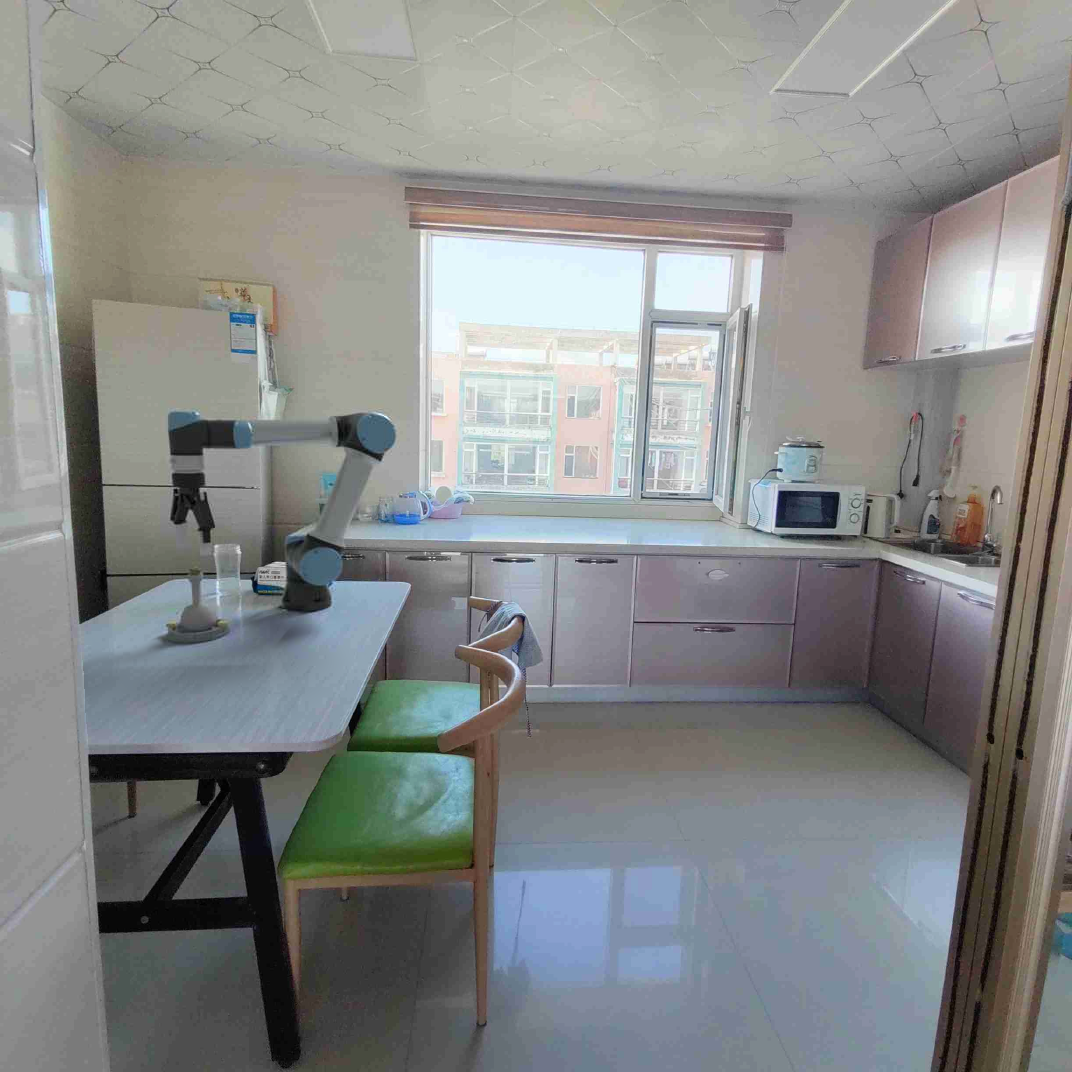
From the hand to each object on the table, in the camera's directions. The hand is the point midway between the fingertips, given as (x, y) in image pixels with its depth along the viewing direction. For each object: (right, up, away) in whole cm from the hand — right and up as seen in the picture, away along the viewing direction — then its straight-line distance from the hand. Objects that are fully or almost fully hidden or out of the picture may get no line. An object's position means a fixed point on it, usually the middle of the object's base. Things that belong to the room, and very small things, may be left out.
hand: (194, 551), depth 164 cm
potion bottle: (0, -22, +3) cm, 22 cm away
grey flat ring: (-1, -22, +3) cm, 23 cm away
